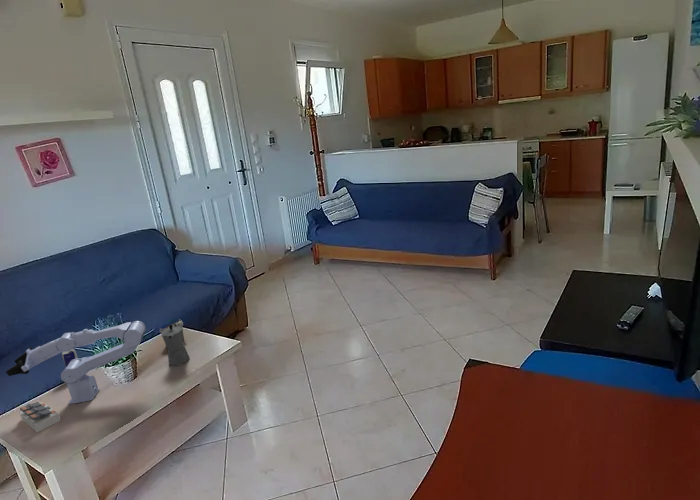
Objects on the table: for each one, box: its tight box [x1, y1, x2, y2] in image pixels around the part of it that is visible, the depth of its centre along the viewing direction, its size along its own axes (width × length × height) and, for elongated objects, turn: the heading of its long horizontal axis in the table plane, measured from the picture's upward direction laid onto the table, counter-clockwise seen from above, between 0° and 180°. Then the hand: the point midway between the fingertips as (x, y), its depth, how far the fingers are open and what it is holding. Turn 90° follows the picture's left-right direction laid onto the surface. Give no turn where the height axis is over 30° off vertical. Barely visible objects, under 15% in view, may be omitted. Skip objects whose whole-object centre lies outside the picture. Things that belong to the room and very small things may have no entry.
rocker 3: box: [29, 409, 52, 420], centre depth 169 cm, size 6×4×2 cm, turn 143°
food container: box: [159, 318, 185, 340], centre depth 224 cm, size 12×6×10 cm, turn 147°
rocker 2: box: [25, 406, 46, 416], centre depth 172 cm, size 6×4×2 cm, turn 143°
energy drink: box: [61, 348, 79, 368], centre depth 204 cm, size 5×5×12 cm
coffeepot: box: [160, 323, 191, 367], centre depth 205 cm, size 15×9×18 cm, turn 13°
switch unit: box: [19, 401, 61, 433], centre depth 173 cm, size 8×16×3 cm, turn 53°
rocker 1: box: [19, 401, 41, 413], centre depth 175 cm, size 6×4×2 cm, turn 143°
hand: (12, 368), depth 177 cm, fingers open, 7 cm apart
